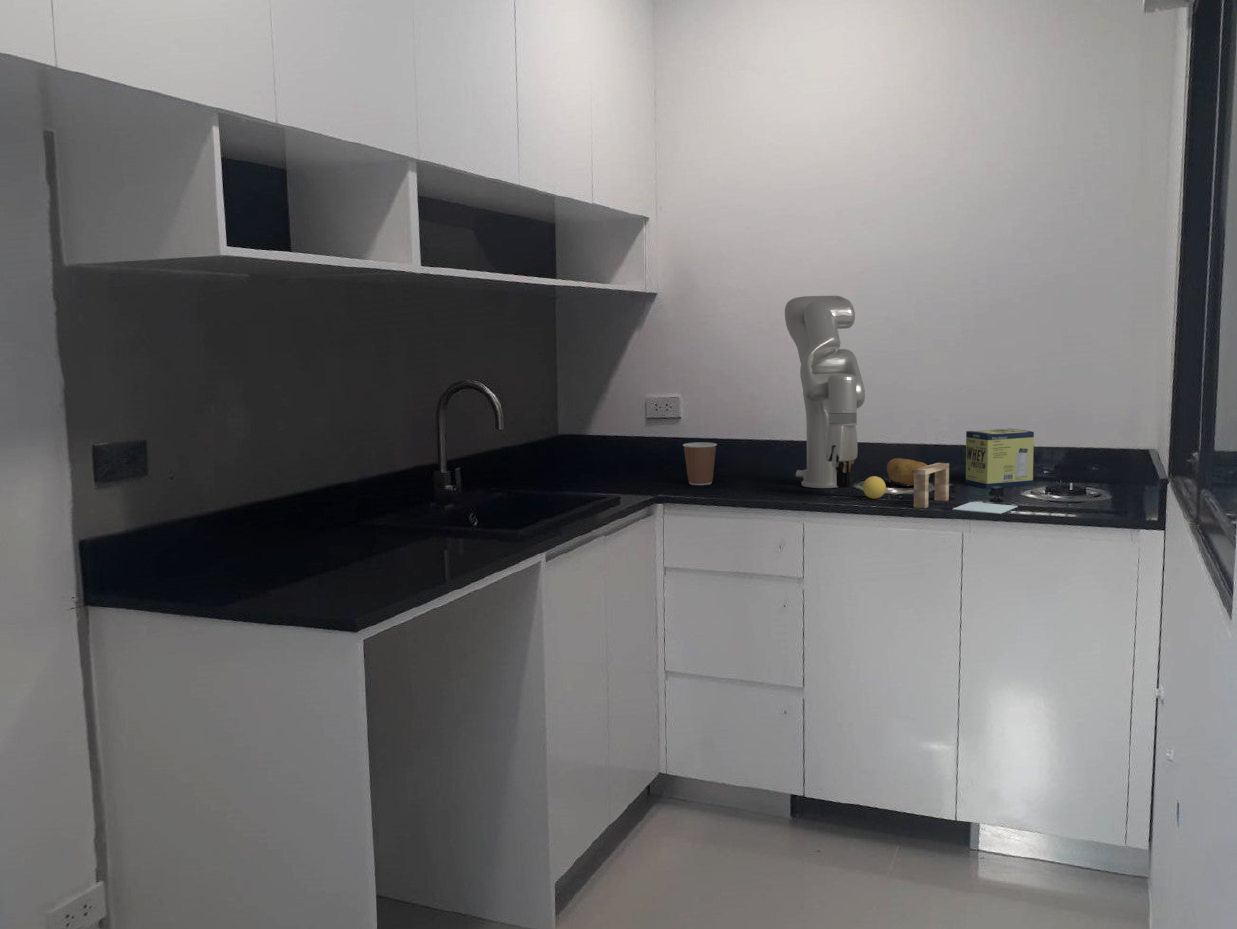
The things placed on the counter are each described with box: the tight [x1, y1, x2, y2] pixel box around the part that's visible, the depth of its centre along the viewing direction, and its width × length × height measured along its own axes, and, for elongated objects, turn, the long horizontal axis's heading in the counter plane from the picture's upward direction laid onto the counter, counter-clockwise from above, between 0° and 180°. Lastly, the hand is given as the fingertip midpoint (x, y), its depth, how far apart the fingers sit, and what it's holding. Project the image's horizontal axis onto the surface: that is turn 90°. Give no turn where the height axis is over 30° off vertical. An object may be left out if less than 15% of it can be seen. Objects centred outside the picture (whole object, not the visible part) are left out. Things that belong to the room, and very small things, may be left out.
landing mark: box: [951, 501, 1018, 515], centre depth 261 cm, size 12×12×1 cm
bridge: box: [913, 462, 950, 509], centre depth 269 cm, size 3×15×10 cm, turn 140°
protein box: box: [965, 428, 1035, 490], centre depth 297 cm, size 10×16×16 cm
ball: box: [862, 475, 887, 500], centre depth 280 cm, size 6×6×6 cm
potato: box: [886, 457, 931, 485], centre depth 298 cm, size 10×14×8 cm
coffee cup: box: [682, 442, 718, 486], centre depth 316 cm, size 10×10×12 cm
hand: (843, 486), depth 285 cm, fingers closed
